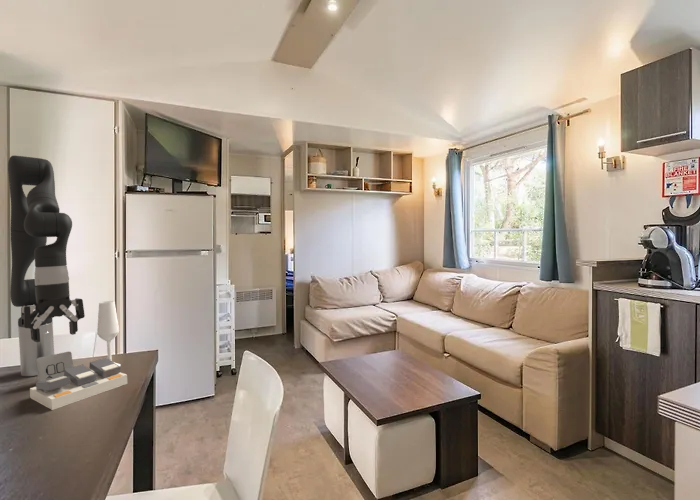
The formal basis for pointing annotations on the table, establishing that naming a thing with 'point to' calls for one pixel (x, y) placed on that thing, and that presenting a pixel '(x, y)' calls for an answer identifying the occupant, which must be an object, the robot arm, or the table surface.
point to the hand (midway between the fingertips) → (55, 337)
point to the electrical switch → (53, 365)
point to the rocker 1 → (52, 383)
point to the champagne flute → (108, 324)
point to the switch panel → (76, 391)
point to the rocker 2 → (104, 367)
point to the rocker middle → (80, 375)
